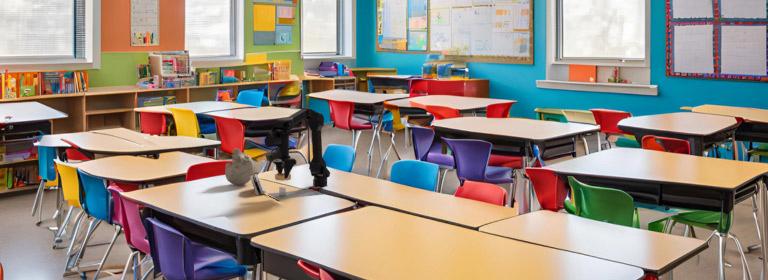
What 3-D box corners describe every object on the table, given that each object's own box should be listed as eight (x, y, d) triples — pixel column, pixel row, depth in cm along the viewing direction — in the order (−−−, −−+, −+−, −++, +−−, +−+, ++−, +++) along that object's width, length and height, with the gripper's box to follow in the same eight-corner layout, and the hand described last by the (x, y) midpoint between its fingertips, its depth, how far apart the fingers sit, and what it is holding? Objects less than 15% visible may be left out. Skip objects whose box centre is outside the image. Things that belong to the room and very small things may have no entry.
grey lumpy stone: (222, 184, 379) (222, 147, 377) (248, 181, 388) (248, 145, 385) (232, 188, 369) (232, 150, 366) (258, 185, 378) (258, 148, 375)
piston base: (311, 191, 365) (311, 181, 364) (324, 196, 353) (324, 186, 352) (267, 196, 352) (267, 185, 352) (278, 201, 341) (278, 190, 340)
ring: (286, 177, 353) (286, 172, 352) (292, 179, 347) (292, 175, 347) (273, 178, 349) (273, 173, 349) (279, 180, 343) (279, 176, 343)
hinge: (266, 195, 355) (259, 176, 353) (257, 198, 354) (250, 179, 352) (265, 188, 371) (258, 170, 369) (256, 191, 370) (249, 173, 368)
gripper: (260, 143, 350) (260, 175, 351) (275, 148, 334) (275, 181, 336) (281, 142, 355) (281, 173, 357) (297, 147, 340) (296, 179, 342)
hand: (282, 177), depth 348 cm, fingers closed on ring, 7 cm apart
